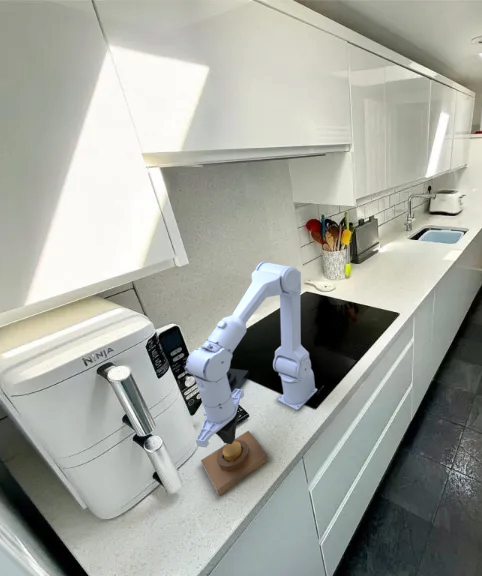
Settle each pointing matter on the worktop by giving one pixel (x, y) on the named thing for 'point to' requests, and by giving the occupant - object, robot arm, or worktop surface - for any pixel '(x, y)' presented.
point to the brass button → (232, 451)
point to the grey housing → (237, 378)
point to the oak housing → (234, 463)
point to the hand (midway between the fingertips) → (229, 441)
